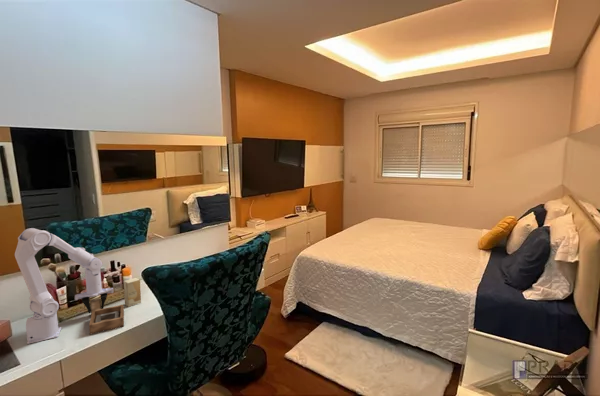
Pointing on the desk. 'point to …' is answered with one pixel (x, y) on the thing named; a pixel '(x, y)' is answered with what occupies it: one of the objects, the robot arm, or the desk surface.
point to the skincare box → (132, 292)
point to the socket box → (107, 319)
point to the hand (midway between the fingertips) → (96, 310)
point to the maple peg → (95, 304)
